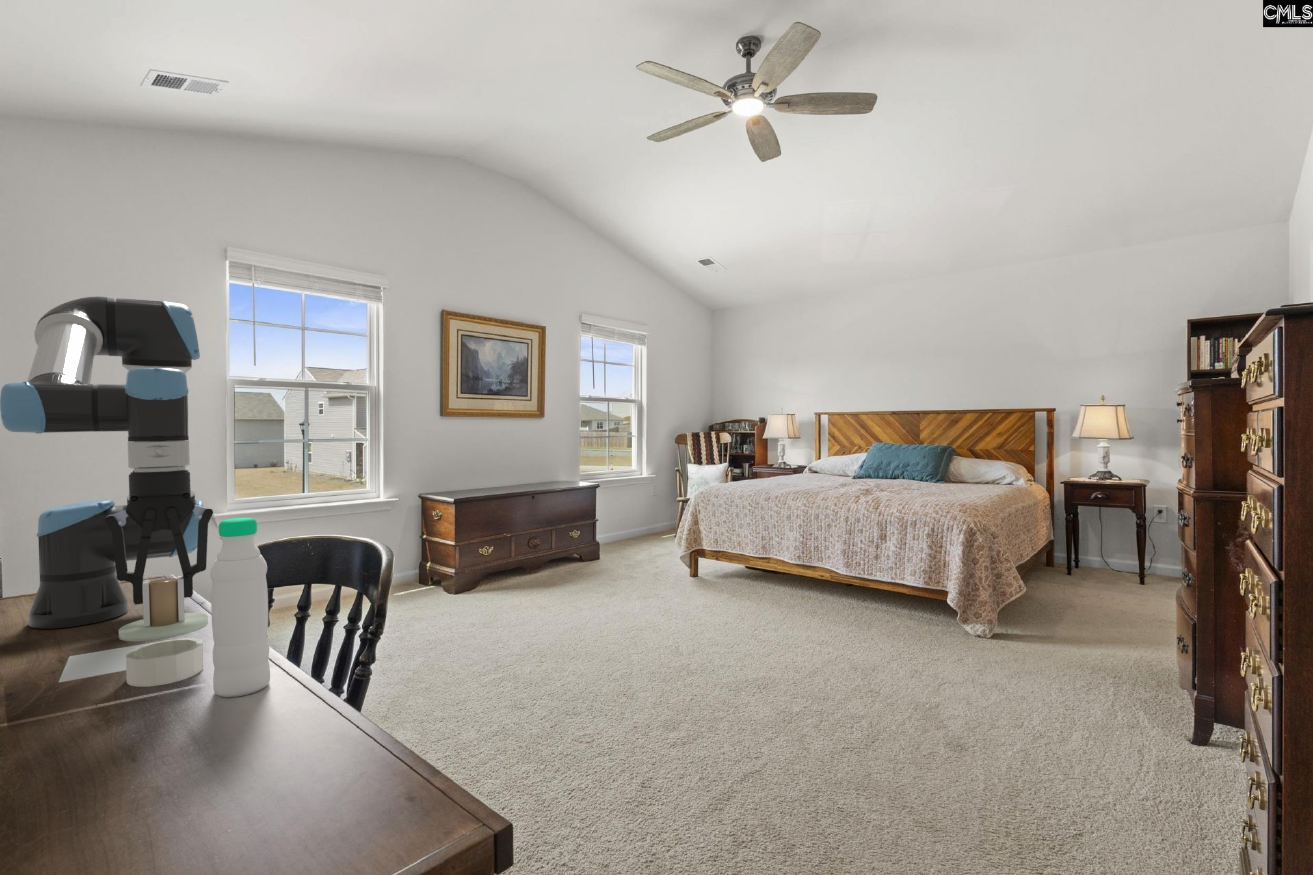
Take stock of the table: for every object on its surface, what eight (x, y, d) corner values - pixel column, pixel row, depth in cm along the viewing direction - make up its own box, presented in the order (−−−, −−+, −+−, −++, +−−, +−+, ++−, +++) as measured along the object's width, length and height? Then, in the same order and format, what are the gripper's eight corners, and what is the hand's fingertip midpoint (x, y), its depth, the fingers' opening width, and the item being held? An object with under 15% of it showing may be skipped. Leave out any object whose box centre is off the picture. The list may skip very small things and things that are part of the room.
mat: (69, 658, 110) (69, 656, 110) (173, 641, 119) (173, 639, 119) (58, 684, 99) (58, 682, 99) (173, 663, 108) (173, 661, 108)
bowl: (128, 674, 103) (127, 646, 103) (201, 660, 109) (201, 634, 109) (125, 694, 96) (124, 663, 95) (204, 678, 101) (203, 649, 101)
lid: (120, 627, 103) (119, 579, 103) (206, 614, 109) (204, 569, 109) (116, 646, 94) (115, 594, 94) (209, 631, 101) (208, 582, 100)
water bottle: (203, 693, 96) (198, 521, 95) (252, 676, 102) (247, 514, 101) (231, 702, 92) (226, 524, 92) (280, 684, 99) (276, 517, 98)
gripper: (86, 473, 93) (91, 638, 94) (226, 467, 103) (230, 616, 104) (90, 471, 99) (96, 626, 100) (222, 465, 109) (227, 606, 110)
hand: (164, 621), depth 102 cm, fingers closed on lid, 3 cm apart
